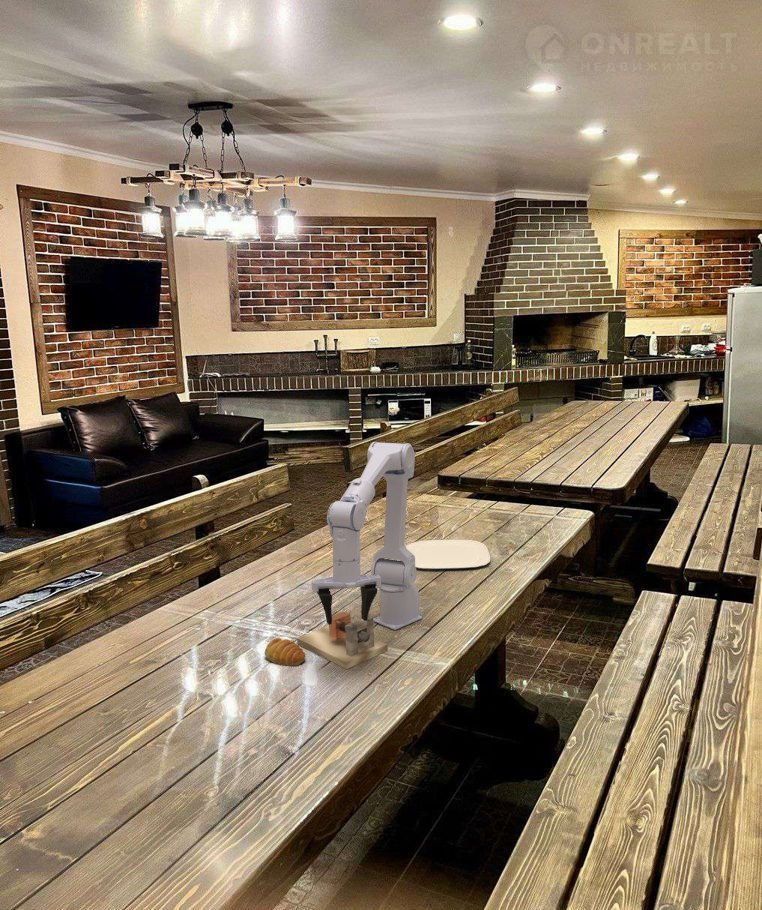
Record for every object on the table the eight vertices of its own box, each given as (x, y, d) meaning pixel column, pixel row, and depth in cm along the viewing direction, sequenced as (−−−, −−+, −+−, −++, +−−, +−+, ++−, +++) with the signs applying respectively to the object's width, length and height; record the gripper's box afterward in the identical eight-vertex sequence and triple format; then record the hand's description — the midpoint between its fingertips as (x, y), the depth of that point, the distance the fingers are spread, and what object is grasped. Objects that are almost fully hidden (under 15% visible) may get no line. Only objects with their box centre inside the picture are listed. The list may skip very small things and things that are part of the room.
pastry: (313, 659, 169) (312, 643, 168) (292, 671, 163) (291, 655, 163) (282, 648, 174) (281, 633, 173) (261, 660, 169) (259, 644, 168)
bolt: (344, 630, 175) (343, 611, 174) (374, 644, 168) (373, 624, 167) (329, 636, 172) (328, 617, 171) (359, 651, 165) (358, 630, 164)
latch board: (337, 627, 183) (336, 595, 182) (387, 650, 171) (386, 616, 169) (297, 644, 176) (295, 610, 174) (346, 669, 163) (344, 633, 161)
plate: (494, 571, 217) (494, 566, 217) (405, 574, 218) (405, 568, 218) (484, 543, 242) (484, 538, 242) (404, 545, 243) (404, 540, 242)
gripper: (316, 566, 154) (317, 631, 155) (385, 560, 158) (385, 623, 159) (309, 557, 160) (310, 619, 162) (375, 552, 164) (375, 613, 166)
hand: (346, 621), depth 161 cm, fingers open, 7 cm apart
